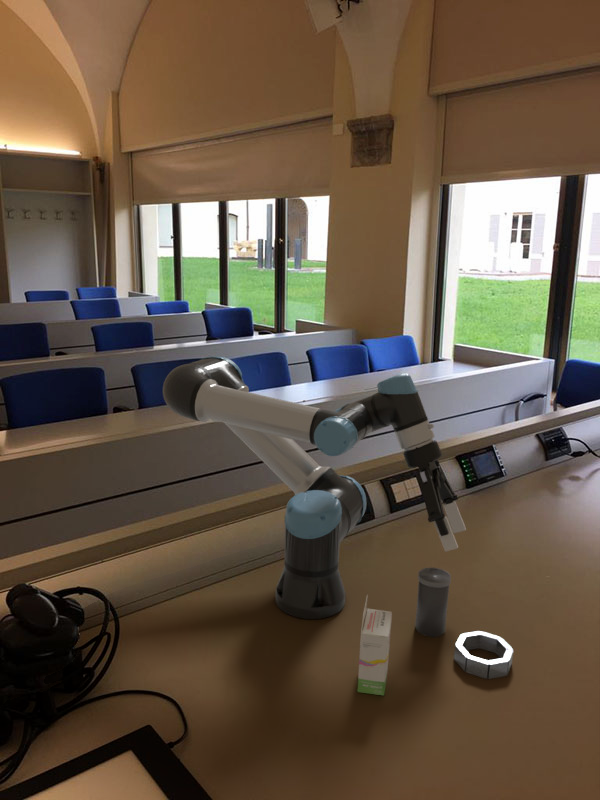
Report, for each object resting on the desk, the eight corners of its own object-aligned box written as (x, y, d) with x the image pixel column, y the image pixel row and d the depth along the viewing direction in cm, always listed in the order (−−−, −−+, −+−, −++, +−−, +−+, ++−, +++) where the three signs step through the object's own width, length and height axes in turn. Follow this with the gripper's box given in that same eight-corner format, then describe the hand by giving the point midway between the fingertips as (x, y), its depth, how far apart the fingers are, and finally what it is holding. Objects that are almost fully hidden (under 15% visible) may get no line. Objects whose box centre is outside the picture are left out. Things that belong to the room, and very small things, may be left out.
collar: (449, 667, 126) (450, 652, 125) (463, 639, 134) (464, 626, 134) (504, 684, 121) (505, 670, 120) (514, 655, 130) (516, 641, 129)
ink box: (385, 697, 117) (390, 621, 113) (356, 693, 118) (360, 617, 114) (388, 667, 125) (393, 595, 122) (362, 663, 126) (366, 591, 123)
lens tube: (409, 631, 137) (414, 577, 134) (419, 616, 142) (424, 564, 139) (440, 641, 134) (445, 586, 131) (449, 625, 139) (454, 572, 136)
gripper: (425, 448, 129) (466, 552, 128) (444, 431, 153) (479, 520, 151) (389, 460, 132) (429, 563, 131) (413, 442, 155) (447, 529, 154)
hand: (456, 540), depth 141 cm, fingers open, 13 cm apart
